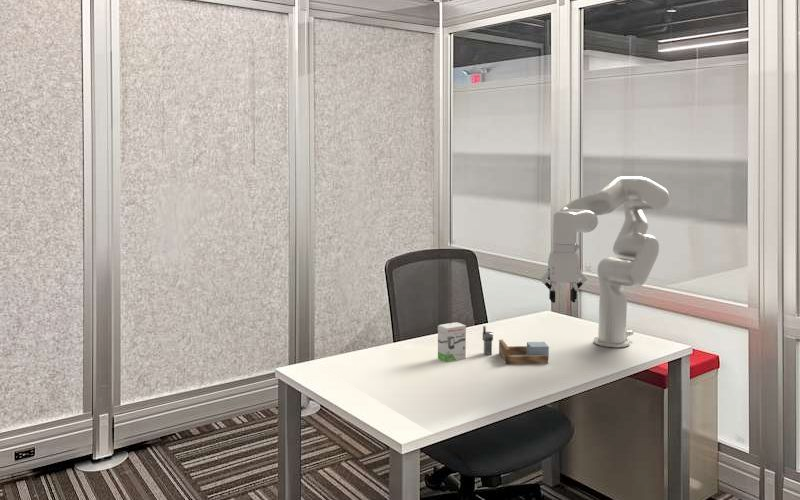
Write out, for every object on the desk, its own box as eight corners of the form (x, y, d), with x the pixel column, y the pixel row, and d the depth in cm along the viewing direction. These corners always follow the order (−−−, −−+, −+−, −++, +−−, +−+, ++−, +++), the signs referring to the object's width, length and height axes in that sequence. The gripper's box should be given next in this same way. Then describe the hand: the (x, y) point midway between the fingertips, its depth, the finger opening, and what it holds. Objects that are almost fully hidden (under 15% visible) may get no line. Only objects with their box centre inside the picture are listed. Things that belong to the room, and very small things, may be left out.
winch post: (491, 352, 234) (492, 324, 233) (493, 355, 231) (494, 327, 229) (481, 352, 234) (481, 325, 233) (483, 355, 230) (483, 327, 229)
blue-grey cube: (543, 355, 230) (544, 341, 229) (548, 361, 224) (548, 346, 223) (526, 356, 230) (526, 342, 229) (530, 361, 224) (531, 346, 223)
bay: (538, 352, 233) (539, 338, 232) (547, 363, 221) (548, 348, 220) (498, 353, 232) (499, 339, 232) (505, 364, 221) (506, 349, 220)
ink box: (445, 362, 223) (445, 328, 221) (437, 358, 227) (437, 325, 225) (466, 358, 227) (466, 324, 225) (457, 355, 231) (458, 321, 230)
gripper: (586, 246, 226) (584, 299, 229) (535, 247, 226) (534, 299, 228) (593, 249, 219) (591, 303, 221) (541, 250, 218) (540, 304, 221)
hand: (562, 301), depth 225 cm, fingers open, 6 cm apart
